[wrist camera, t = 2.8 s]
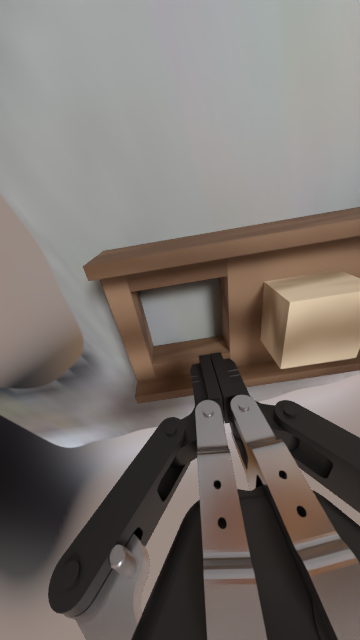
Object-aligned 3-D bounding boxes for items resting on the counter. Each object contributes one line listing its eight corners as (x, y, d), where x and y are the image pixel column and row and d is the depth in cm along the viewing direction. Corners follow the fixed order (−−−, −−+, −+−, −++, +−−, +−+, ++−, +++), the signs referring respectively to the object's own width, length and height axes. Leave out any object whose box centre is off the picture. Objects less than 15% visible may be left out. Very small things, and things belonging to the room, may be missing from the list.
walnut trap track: (103, 250, 17) (82, 266, 13) (607, 164, 16) (767, 150, 12) (142, 368, 24) (137, 403, 20) (496, 313, 23) (571, 338, 19)
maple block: (264, 281, 16) (290, 302, 13) (337, 269, 16) (383, 287, 13) (260, 339, 20) (280, 369, 16) (322, 330, 19) (356, 357, 16)
